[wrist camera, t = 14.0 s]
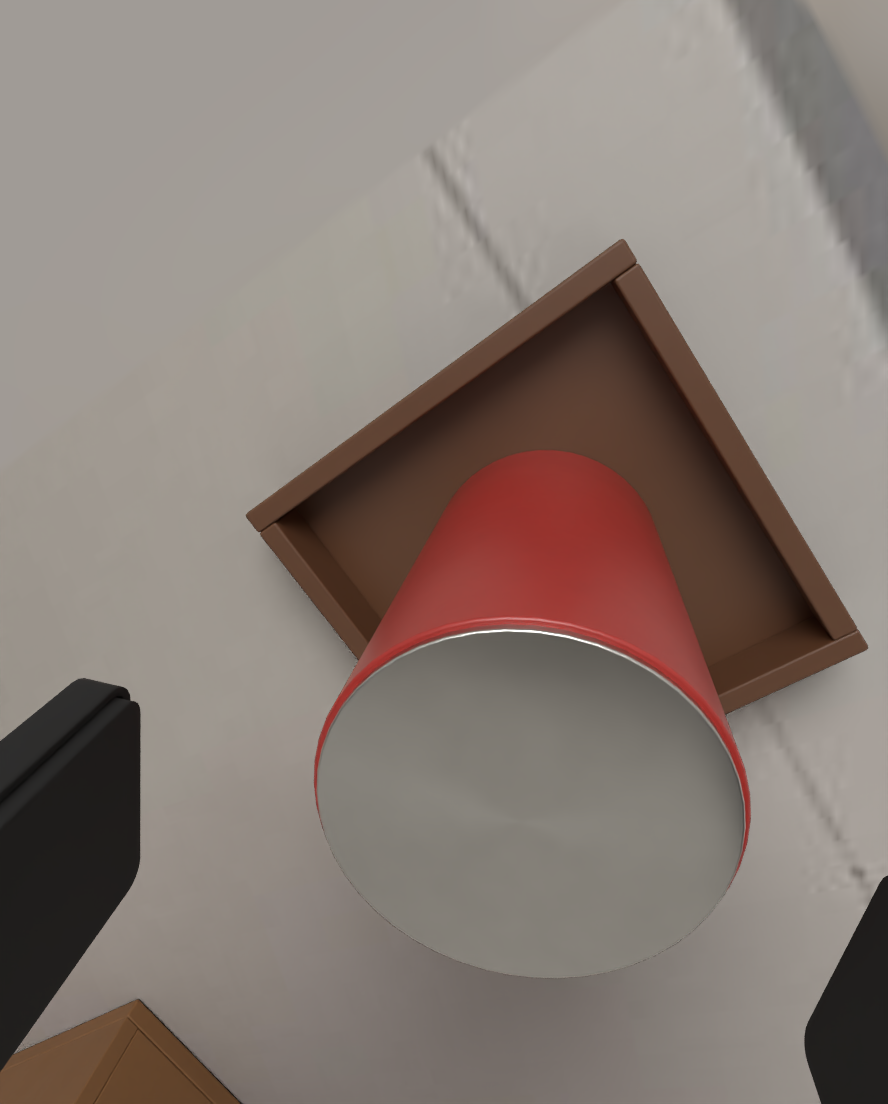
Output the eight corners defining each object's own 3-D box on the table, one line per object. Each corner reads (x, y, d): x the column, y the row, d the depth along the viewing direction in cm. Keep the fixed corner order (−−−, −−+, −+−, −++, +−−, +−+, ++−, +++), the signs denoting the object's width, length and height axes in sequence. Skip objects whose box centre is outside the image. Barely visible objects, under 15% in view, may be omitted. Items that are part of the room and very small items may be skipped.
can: (392, 527, 19) (225, 749, 10) (580, 403, 17) (593, 532, 8) (513, 692, 21) (467, 1029, 11) (703, 592, 19) (840, 900, 9)
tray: (274, 494, 20) (243, 515, 18) (617, 243, 17) (623, 237, 15) (493, 778, 22) (486, 824, 20) (839, 612, 19) (870, 649, 17)
